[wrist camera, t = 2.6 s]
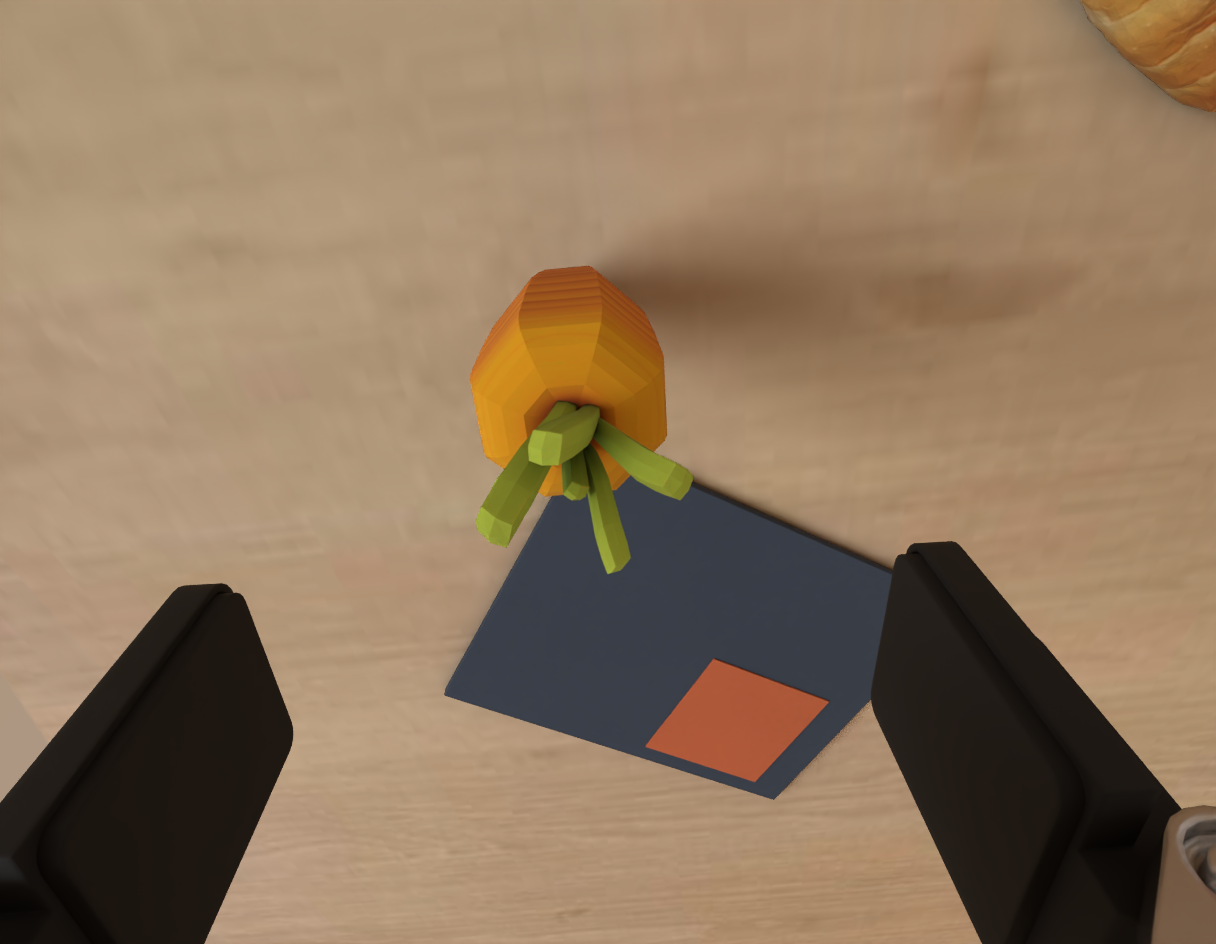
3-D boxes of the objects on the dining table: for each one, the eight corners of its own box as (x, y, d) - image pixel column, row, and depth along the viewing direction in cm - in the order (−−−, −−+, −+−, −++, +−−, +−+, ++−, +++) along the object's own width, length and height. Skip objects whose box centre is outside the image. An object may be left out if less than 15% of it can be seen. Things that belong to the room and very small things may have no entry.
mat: (445, 688, 35) (443, 697, 35) (586, 434, 28) (586, 440, 28) (772, 792, 40) (774, 801, 40) (957, 598, 33) (963, 606, 33)
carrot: (659, 246, 25) (750, 433, 12) (616, 371, 27) (652, 644, 14) (524, 202, 24) (461, 352, 11) (491, 335, 26) (406, 591, 13)
